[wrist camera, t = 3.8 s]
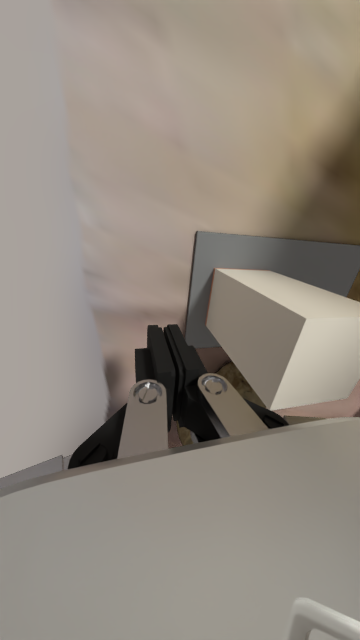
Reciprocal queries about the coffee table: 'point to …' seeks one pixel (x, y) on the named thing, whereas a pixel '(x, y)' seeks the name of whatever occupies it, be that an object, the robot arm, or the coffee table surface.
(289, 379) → the cream rectangular block
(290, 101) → the coffee table surface
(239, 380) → the stone block
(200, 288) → the rubber mat
